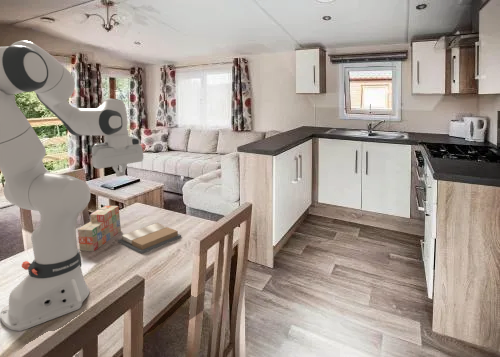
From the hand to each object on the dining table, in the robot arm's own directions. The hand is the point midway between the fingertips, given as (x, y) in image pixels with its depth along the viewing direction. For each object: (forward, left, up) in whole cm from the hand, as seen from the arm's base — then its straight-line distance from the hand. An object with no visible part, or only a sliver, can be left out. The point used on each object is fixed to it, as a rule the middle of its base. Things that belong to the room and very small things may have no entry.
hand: (120, 175), depth 131 cm
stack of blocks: (-5, +11, -30) cm, 32 cm away
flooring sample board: (+8, -5, -29) cm, 31 cm away
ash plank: (+8, -2, -28) cm, 29 cm away
